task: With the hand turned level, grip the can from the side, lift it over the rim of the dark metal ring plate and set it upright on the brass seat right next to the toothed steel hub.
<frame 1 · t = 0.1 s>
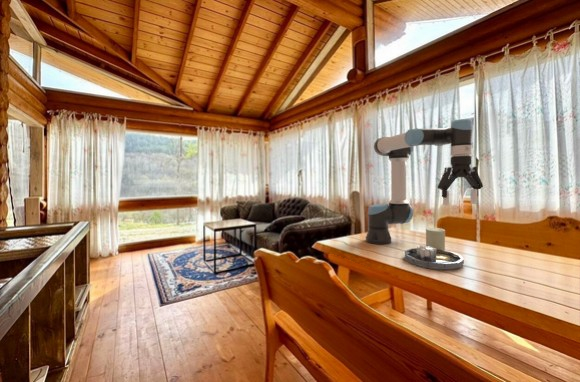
hand: (460, 204, 113), 28 cm above the table, tool pointing down, fingers open, 13 cm apart
can: (435, 250, 140), on the table
carrier plate: (432, 261, 123), on the table
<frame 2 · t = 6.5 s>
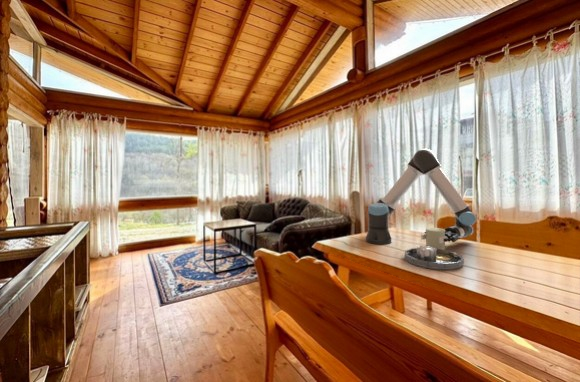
hand: (430, 238, 137), 7 cm above the table, tool horizontal, fingers closed on can, 9 cm apart
can: (435, 250, 140), on the table, touching gripper
when the fingers open (10 cm above the table, at t = 10.9 s): can drops 1 cm, resting on carrier plate.
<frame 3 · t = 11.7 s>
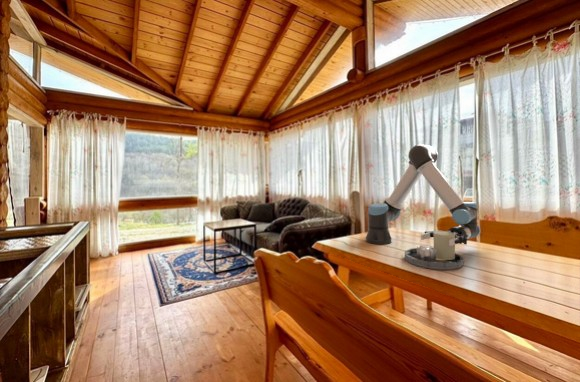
hand: (434, 239, 123), 10 cm above the table, tool horizontal, fingers open, 13 cm apart
can: (444, 257, 124), point 1 cm above the table, touching carrier plate, gripper
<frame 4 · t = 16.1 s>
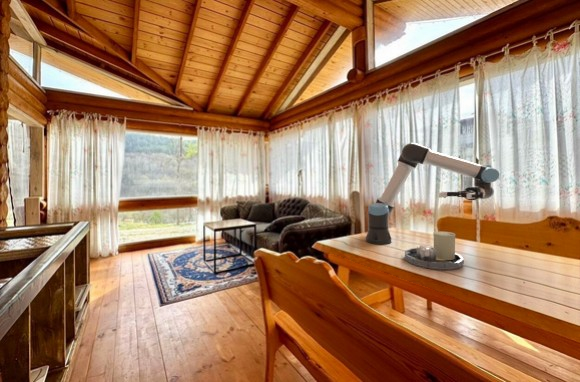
hand: (452, 195, 133), 30 cm above the table, tool horizontal, fingers open, 13 cm apart
can: (444, 257, 124), point 1 cm above the table, touching carrier plate
at the end: can 2.3 cm from the target spot on the carrier plate, point 1.2 cm above the carrier plate's base; can tilted 0°; the gripper is holding nothing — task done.
